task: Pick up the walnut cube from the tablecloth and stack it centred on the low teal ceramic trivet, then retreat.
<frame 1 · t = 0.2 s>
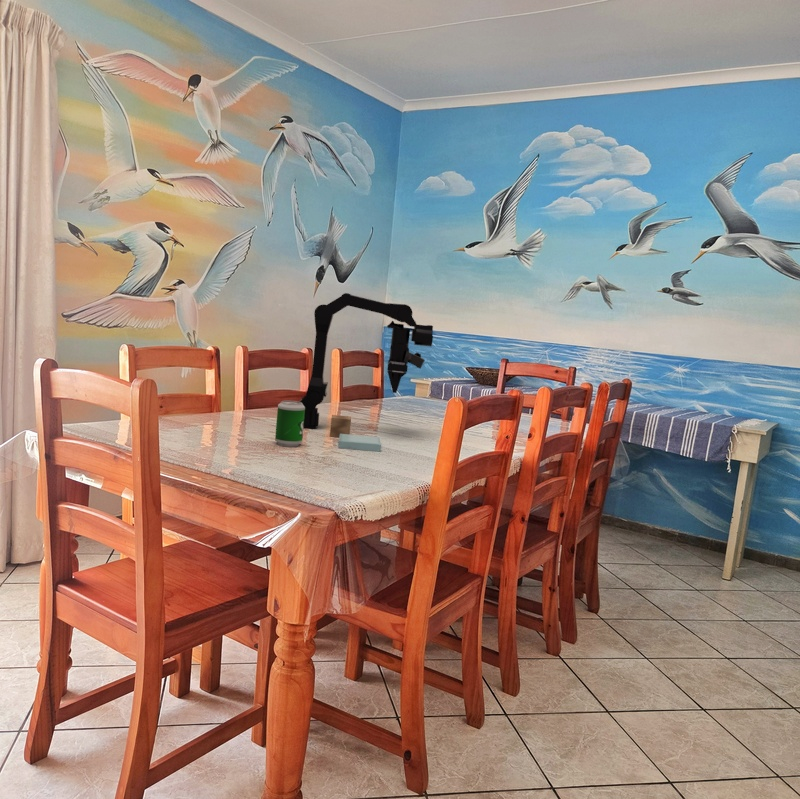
hand: (394, 391, 225), 14 cm above the table, fingers open, 9 cm apart
soda can: (288, 445, 194), on the table
trivet: (359, 445, 203), on the table
walnut cube: (339, 436, 215), on the table
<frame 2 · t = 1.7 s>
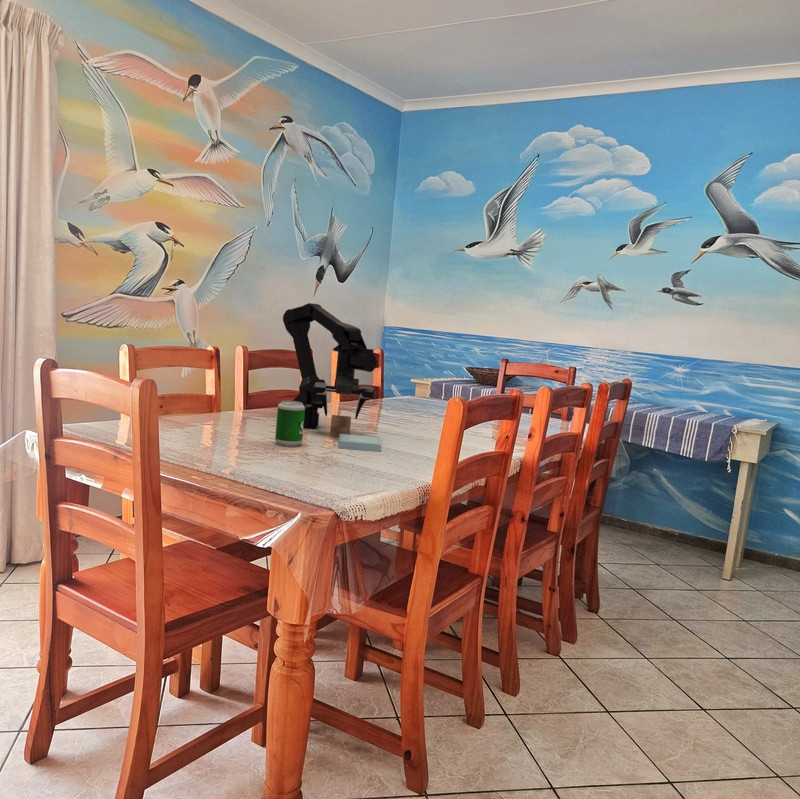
hand: (341, 417, 215), 6 cm above the table, fingers open, 9 cm apart
nothing on the table moved.
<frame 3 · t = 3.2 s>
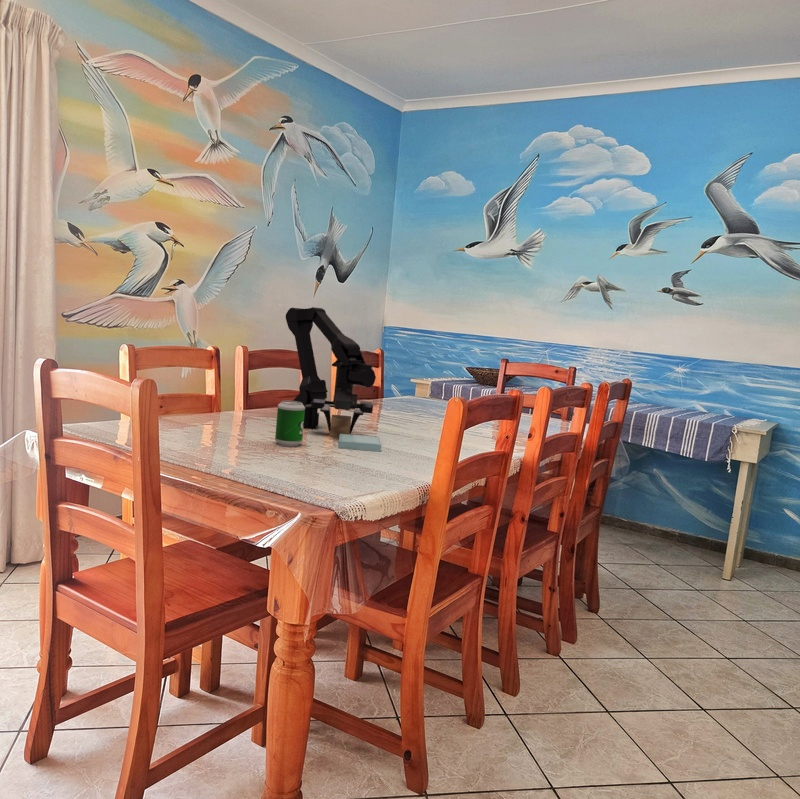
hand: (339, 432, 215), 1 cm above the table, fingers closed on walnut cube, 6 cm apart
walnut cube: (339, 435, 215), on the table, touching gripper
everything else where it was.
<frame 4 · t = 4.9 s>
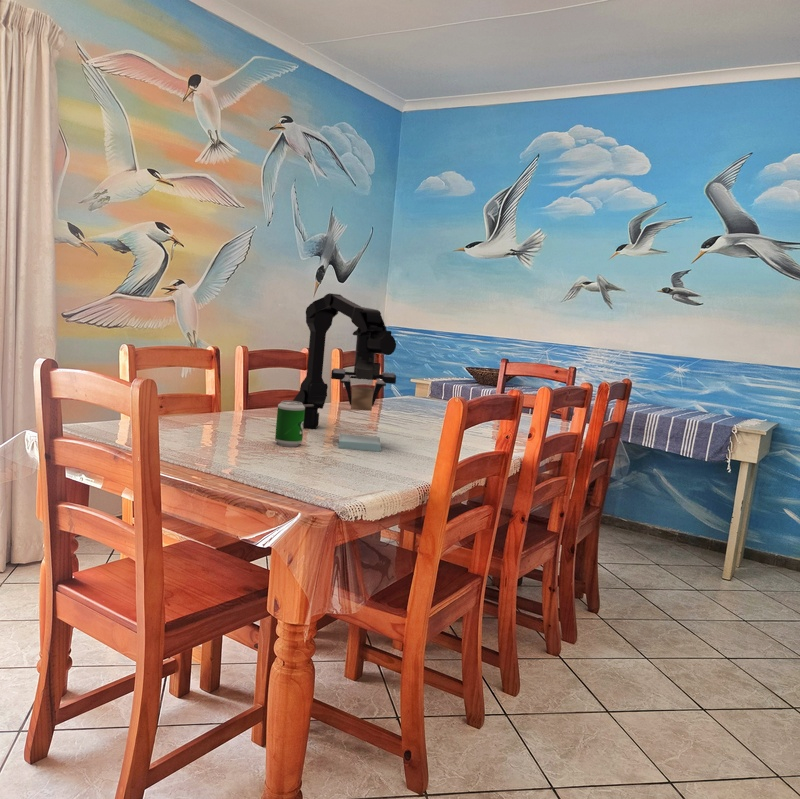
hand: (361, 405, 203), 12 cm above the table, fingers closed on walnut cube, 6 cm apart
walnut cube: (361, 408, 203), point 11 cm above the table, touching gripper
everything else where it was.
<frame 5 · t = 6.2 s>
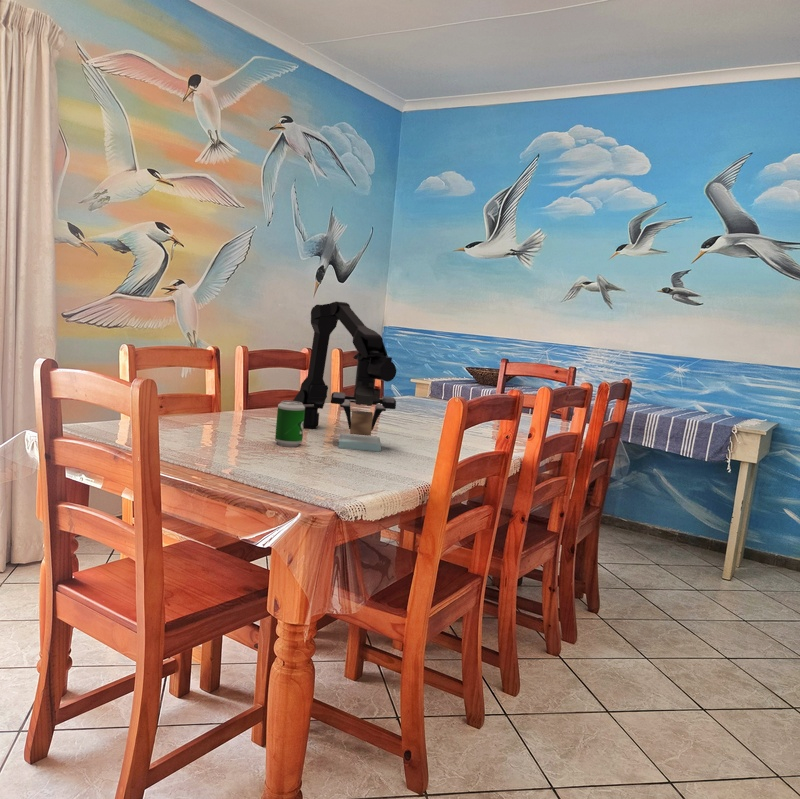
hand: (360, 429, 202), 5 cm above the table, fingers closed on walnut cube, 6 cm apart
walnut cube: (360, 432, 203), point 4 cm above the table, touching gripper
everything else where it was.
when the fingers open (4 cm above the table, at t = 7.1 s): walnut cube drops 1 cm, resting on trivet.
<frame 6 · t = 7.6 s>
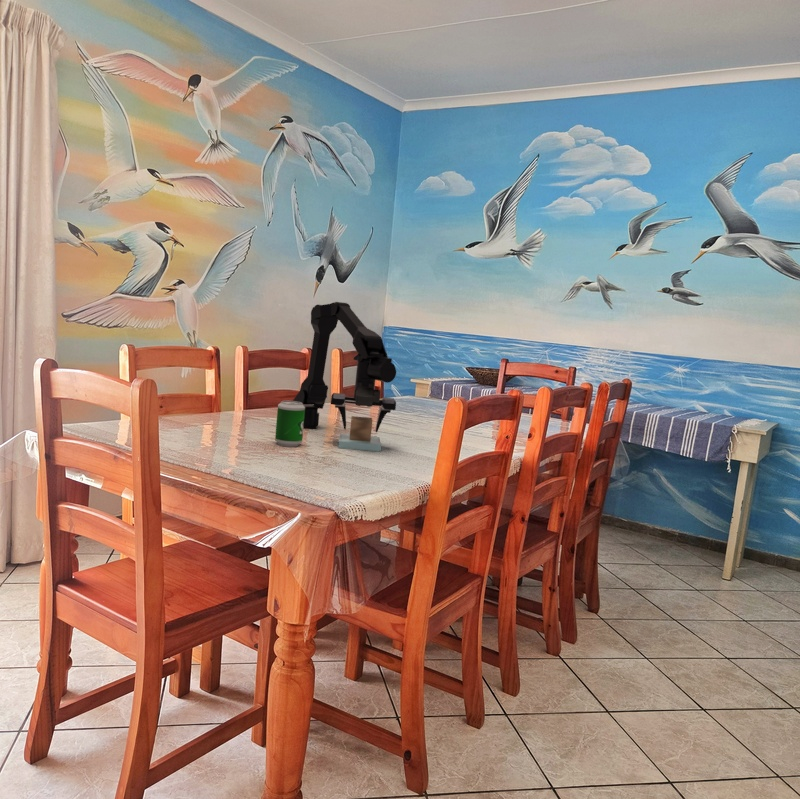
hand: (360, 430, 202), 4 cm above the table, fingers open, 9 cm apart
walnut cube: (359, 438, 203), point 2 cm above the table, touching trivet
everything else where it was.
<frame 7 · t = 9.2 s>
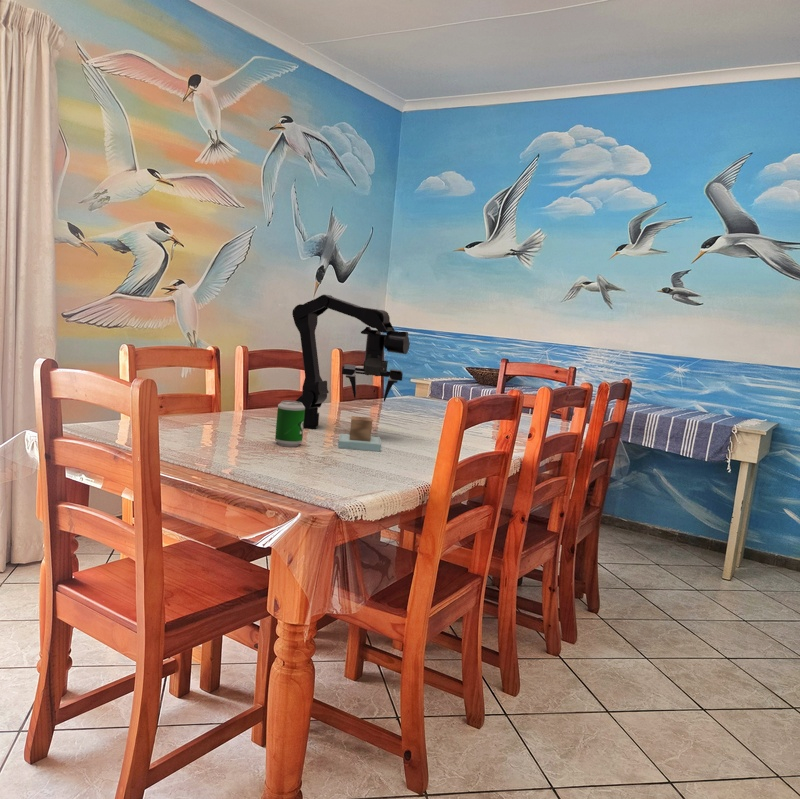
hand: (369, 399, 217), 12 cm above the table, fingers open, 9 cm apart
nothing on the table moved.
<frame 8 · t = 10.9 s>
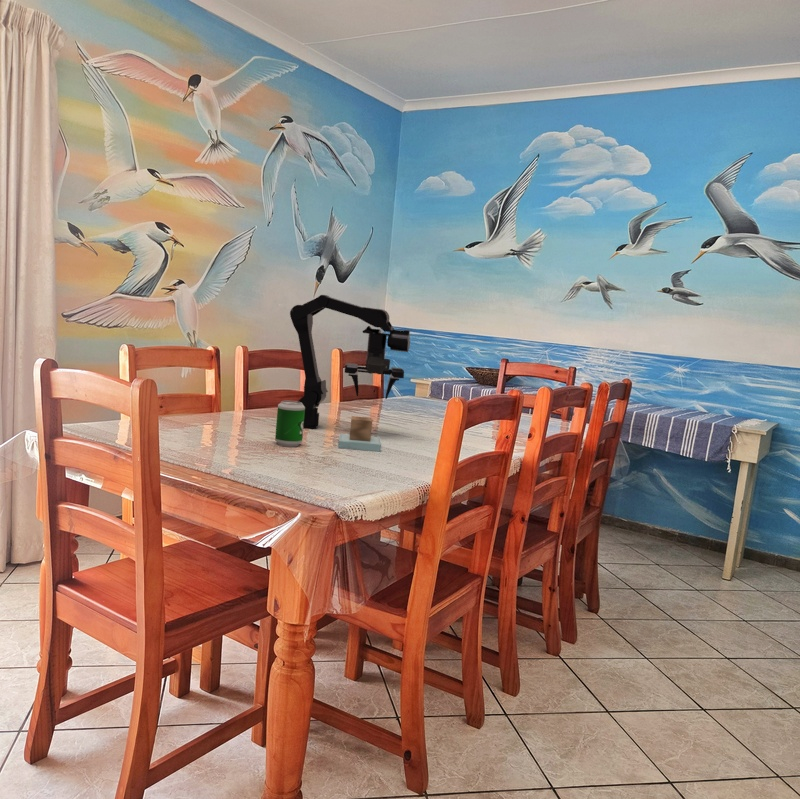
hand: (371, 397, 221), 12 cm above the table, fingers open, 9 cm apart
nothing on the table moved.
at the end: walnut cube inside the target area on the trivet (0.0 cm from its centre), point 2.1 cm above the trivet's base; walnut cube tilted 0°; the gripper is holding nothing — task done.
